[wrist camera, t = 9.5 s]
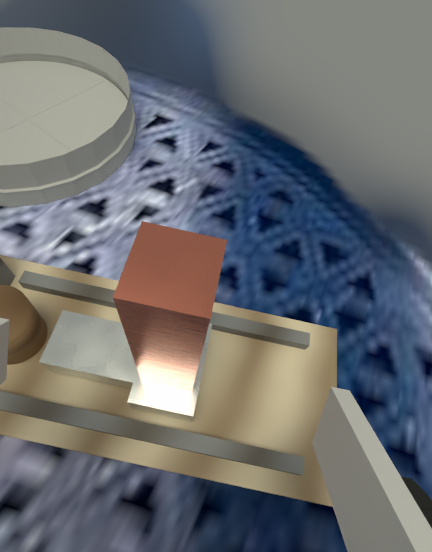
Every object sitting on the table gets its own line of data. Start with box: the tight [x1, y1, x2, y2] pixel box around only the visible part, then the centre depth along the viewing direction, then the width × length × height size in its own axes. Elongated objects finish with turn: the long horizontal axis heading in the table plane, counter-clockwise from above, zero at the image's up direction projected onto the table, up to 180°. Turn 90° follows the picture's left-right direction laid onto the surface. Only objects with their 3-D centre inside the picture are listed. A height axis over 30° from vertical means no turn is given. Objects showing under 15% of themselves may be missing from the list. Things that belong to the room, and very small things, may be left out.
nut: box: [0, 285, 47, 365], centre depth 22 cm, size 4×4×4 cm
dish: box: [0, 28, 136, 207], centre depth 35 cm, size 22×22×5 cm
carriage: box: [39, 221, 227, 421], centre depth 18 cm, size 10×6×14 cm, turn 79°
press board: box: [0, 255, 337, 507], centre depth 22 cm, size 30×12×8 cm, turn 79°
